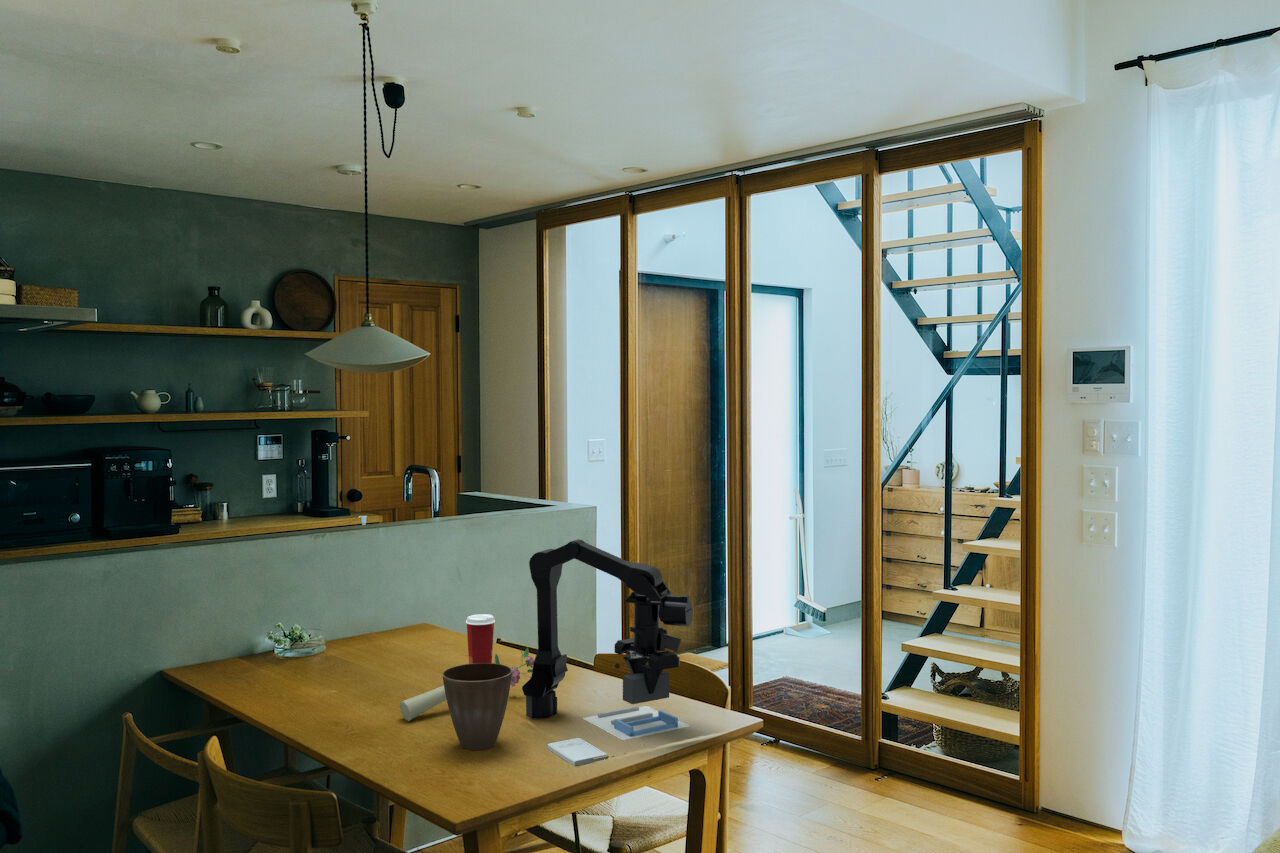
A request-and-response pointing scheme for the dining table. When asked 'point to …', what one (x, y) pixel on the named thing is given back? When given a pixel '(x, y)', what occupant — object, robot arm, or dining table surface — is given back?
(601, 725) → the board
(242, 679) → the dining table surface
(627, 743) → the dining table surface
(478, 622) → the coffee cup
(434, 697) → the flower vase
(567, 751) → the external hard drive
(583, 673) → the dining table surface
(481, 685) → the plant pot
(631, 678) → the dark gray block
